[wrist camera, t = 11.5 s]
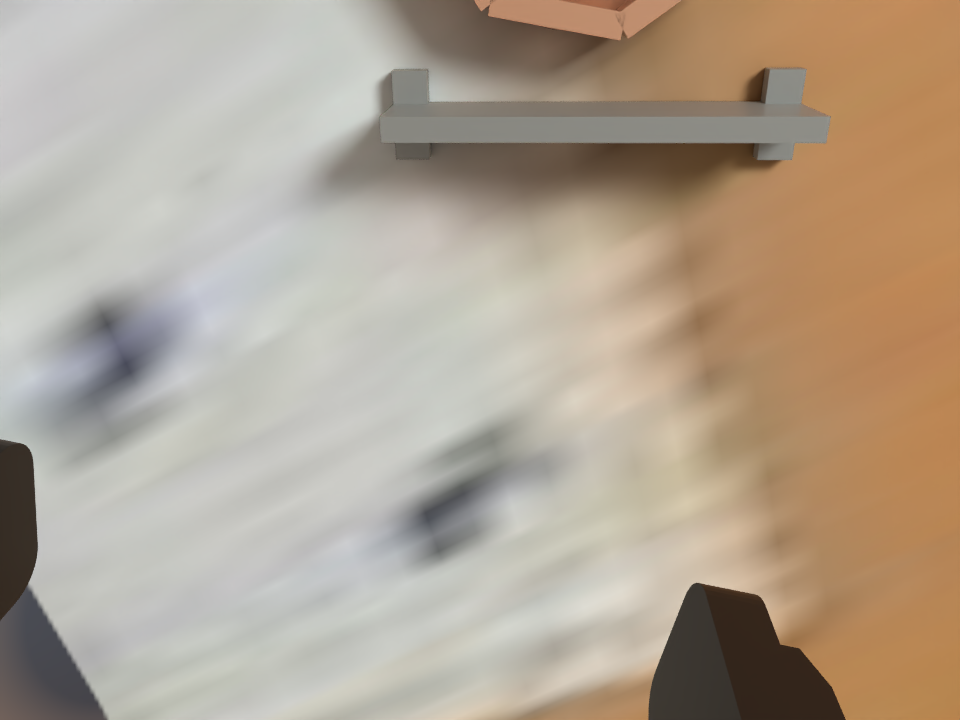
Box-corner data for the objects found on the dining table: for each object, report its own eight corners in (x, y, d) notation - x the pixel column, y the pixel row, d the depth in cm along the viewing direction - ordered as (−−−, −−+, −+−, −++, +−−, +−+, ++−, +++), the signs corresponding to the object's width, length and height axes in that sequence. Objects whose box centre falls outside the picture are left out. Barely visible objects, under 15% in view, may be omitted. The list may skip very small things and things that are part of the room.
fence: (800, 67, 27) (837, 78, 24) (786, 156, 28) (819, 178, 25) (393, 69, 28) (377, 80, 24) (398, 155, 29) (383, 177, 26)
